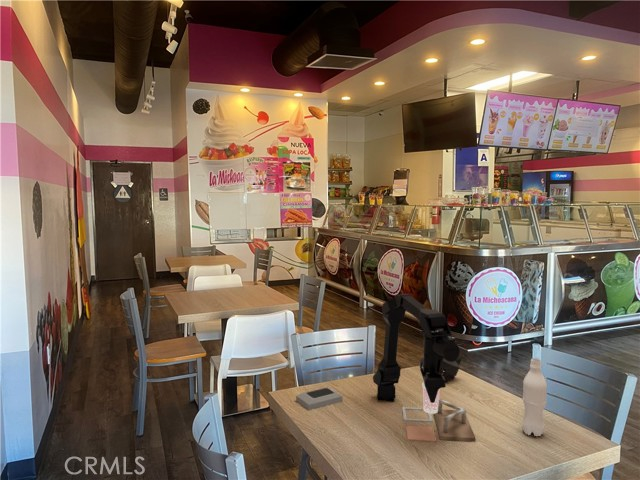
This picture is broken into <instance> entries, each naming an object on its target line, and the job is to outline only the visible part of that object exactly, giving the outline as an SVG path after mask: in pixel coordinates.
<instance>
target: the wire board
mask: <svg viewBox="0 0 640 480" xmlns="http://www.w3.org/2000/svg"><path fill="white" fill-rule="evenodd" d="M443 406H446V407H448V408H451V409H443ZM433 417H434V420H435V424H436V428H437V429H436V430H437V432H438V433H437V434H438V436H439V439H440V440H441V441H453V442H454V441H455V442H456V441H457V442H470V441H471V442H472V441H475V442H476V440H477V439H476V436H475V433H474V431H473V429H472V426H471V423H470V421H469V419H468V416H467V409H466V408H464V407H462V406H458V405H457V404H455V403H452V402H449V401H446V400H443V399H441V398H439V405H438V412H437V413H435V414H433ZM475 442H474V443H475Z"/></svg>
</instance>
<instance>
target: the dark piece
mask: <svg viewBox="0 0 640 480" xmlns="http://www.w3.org/2000/svg"><path fill="white" fill-rule="evenodd" d="M455 361H456V363H458V365H459V366H460V364H461V363H462V358H461V357H458V358H457V359H456V360H454V362H455ZM438 374H441V375H442V376H443V377H444V378H445V381H446V383H448V382H450V381H452V380H454V379H455V378H456V376H453V375H452V374H450V373H447V372H445V371H443V373H438Z"/></svg>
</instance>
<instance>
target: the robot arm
mask: <svg viewBox="0 0 640 480" xmlns="http://www.w3.org/2000/svg"><path fill="white" fill-rule="evenodd" d="M406 312H408V313H409V314H410V315H411V316H413V317H414V318H415V319H417V320H418V326H420V327H421V329H422V330H421V331H420V334H421V335H422V336H423V348H422V349H423V351H422V356H423V357H421V358H420V359H419V360H418V361H419V363H418V364H419V369H420V373H421V376H422V379H423V382H424V385H425V388H426V390H427V393H428V396H429V399H430V402H431V403H434V402H435V399H436V396H437V393H438V390H439V389H440V390H441V389H444V388H446V383H447V382H446V381H445V378H444V377H443V376H442V375H441V374H438V373H443V372H444V371H445V372H447V373H450V374H452V375H453V376H455V377H456V376H457V375H458V373H459V370H460V368H461V367H460V364H459V365H458V363H456V361H455V362H454V360H456V359H458V358H459V356H460V353H461V352H460V351H461V349H460V346H459V345H458V344H457V343H455V339H454V338H451V336H452V332H451V330H452V329H451V328H450V326H449V324H448V323H449V322H448V321H447V318H446V317H445V314H444V313H443V312H441V311H438V310H435V309H431V308H427V307H426V305H424V304H423V303H421V302H420V301H418V300H417V299H415V298H414V297H413V295H411V294H410V293H403V294H402V293H401V294H398V295H396V296H394V297H393V298H391V299H388V300H386V301H385V302H383V304H382V306H381V313H382V315H381V316H382V318H383V319H384V321H385V333H384V343H383V356H382V359H381V360H380V362H379V363H378V364H377V365H378V366H377V370H376V371H375V373H374V374H373V376H372V381H373V383H374V384H375V385H377V389H376V390H377V393H376V400H377V402H393V403H394V402H395V399H396V384H399V381H400V377H401V370H402V368H401V366H400V364H399V363H398V361H397V353H398V345H399V332H400V331H399V330H400V324H402V322H403V321H404V319H405V315H406Z"/></svg>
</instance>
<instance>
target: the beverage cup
mask: <svg viewBox="0 0 640 480" xmlns="http://www.w3.org/2000/svg"><path fill="white" fill-rule="evenodd" d="M421 386H422V400H423V401H422V405H423V407H422V408H423V410H422V411H424V413H427V414H428V413H429V414H431V415H434V414H435V413H437V412H438V405H439V399H440V393H441V392H440V391H441V388H440V389H439V390H438V393H437V396H436V399H435V402H434V403H431V402H430V399H429V396H428V393H427V390H426V388H425V385H424V381H422V382H421Z"/></svg>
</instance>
